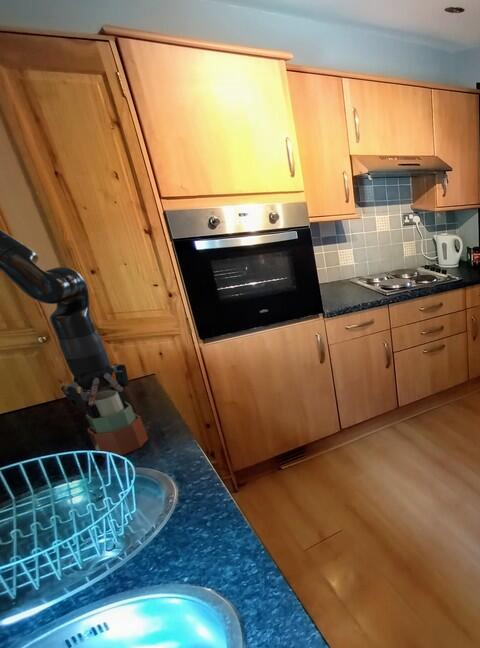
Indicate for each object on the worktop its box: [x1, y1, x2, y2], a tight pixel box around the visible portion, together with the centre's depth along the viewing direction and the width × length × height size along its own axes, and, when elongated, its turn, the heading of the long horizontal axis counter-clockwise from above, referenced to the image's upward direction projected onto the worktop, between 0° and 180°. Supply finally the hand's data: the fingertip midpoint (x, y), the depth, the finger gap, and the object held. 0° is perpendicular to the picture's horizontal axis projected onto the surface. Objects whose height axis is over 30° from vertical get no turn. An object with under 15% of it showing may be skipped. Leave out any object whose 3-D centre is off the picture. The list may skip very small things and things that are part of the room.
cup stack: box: [85, 401, 149, 458], centre depth 118 cm, size 10×10×11 cm
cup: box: [94, 390, 125, 418], centre depth 116 cm, size 6×6×9 cm
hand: (108, 410), depth 116 cm, fingers closed on cup, 5 cm apart
